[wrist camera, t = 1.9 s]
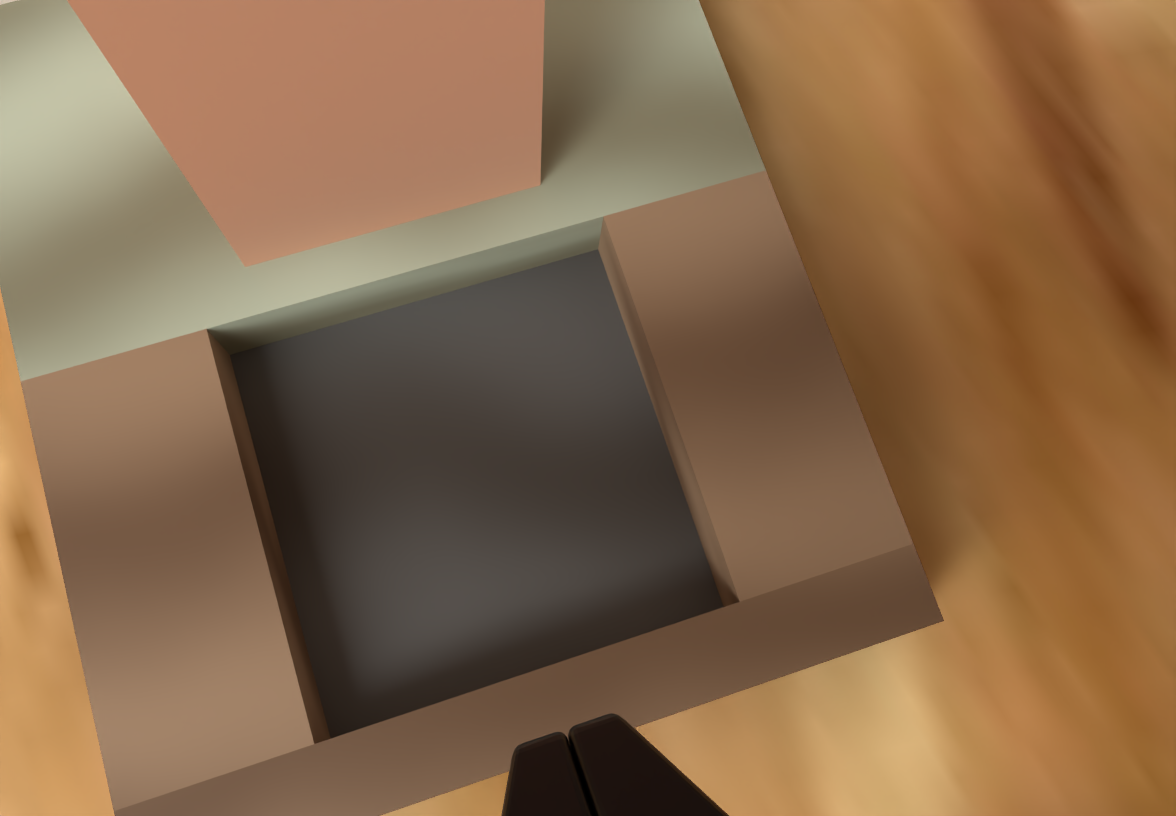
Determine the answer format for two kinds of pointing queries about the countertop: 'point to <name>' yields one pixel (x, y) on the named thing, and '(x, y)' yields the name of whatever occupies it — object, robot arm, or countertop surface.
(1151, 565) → the countertop surface
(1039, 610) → the countertop surface
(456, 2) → the terracotta block
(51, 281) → the trap board
